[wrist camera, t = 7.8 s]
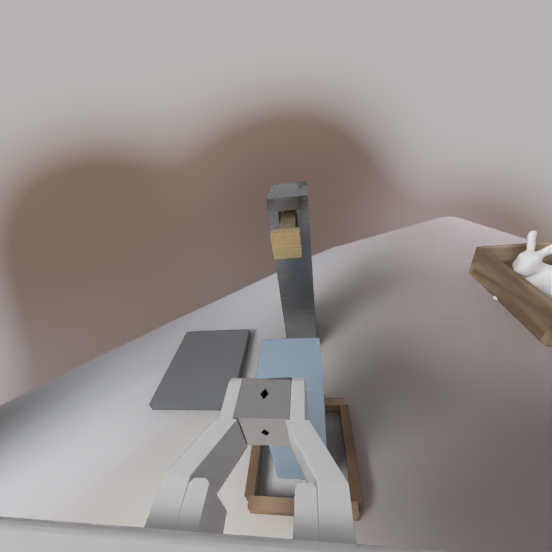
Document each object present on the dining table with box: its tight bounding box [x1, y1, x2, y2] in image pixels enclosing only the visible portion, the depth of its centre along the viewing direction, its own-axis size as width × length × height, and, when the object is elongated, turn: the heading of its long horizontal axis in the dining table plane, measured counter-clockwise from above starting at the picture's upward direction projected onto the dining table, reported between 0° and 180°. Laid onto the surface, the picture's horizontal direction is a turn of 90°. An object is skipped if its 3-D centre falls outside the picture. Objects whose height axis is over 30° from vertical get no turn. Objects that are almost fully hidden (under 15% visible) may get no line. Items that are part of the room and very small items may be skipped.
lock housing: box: [266, 181, 316, 339], centre depth 33 cm, size 4×6×21 cm, turn 175°
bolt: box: [270, 209, 302, 259], centre depth 28 cm, size 2×15×2 cm, turn 175°
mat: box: [149, 330, 250, 410], centre depth 35 cm, size 10×12×1 cm
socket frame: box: [245, 398, 363, 520], centre depth 25 cm, size 10×10×1 cm
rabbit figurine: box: [493, 231, 552, 300], centre depth 37 cm, size 12×8×10 cm, turn 55°
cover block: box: [256, 338, 327, 479], centre depth 22 cm, size 4×4×13 cm
